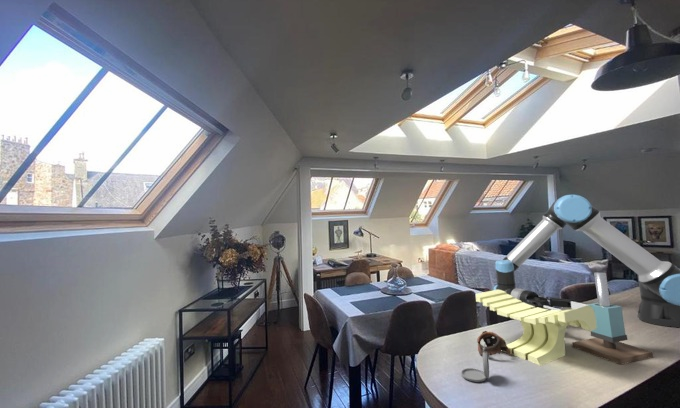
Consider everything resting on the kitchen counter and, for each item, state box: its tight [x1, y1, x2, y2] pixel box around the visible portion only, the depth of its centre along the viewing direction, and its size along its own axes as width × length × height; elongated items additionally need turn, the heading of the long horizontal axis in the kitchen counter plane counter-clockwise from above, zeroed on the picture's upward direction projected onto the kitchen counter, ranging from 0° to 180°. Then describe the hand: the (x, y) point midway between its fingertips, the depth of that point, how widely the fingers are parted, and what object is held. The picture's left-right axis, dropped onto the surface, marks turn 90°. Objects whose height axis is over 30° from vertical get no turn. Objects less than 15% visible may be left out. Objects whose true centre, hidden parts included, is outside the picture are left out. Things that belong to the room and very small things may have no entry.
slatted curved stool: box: [475, 290, 597, 366], centre depth 98 cm, size 30×16×18 cm, turn 25°
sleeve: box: [587, 302, 627, 338], centre depth 95 cm, size 6×6×9 cm
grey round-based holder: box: [460, 342, 490, 383], centre depth 83 cm, size 8×8×10 cm
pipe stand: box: [571, 271, 654, 365], centre depth 95 cm, size 14×14×26 cm
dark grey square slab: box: [589, 331, 628, 343], centre depth 95 cm, size 6×6×2 cm
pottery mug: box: [476, 330, 512, 357], centre depth 98 cm, size 12×10×8 cm
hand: (575, 311), depth 104 cm, fingers open, 13 cm apart
